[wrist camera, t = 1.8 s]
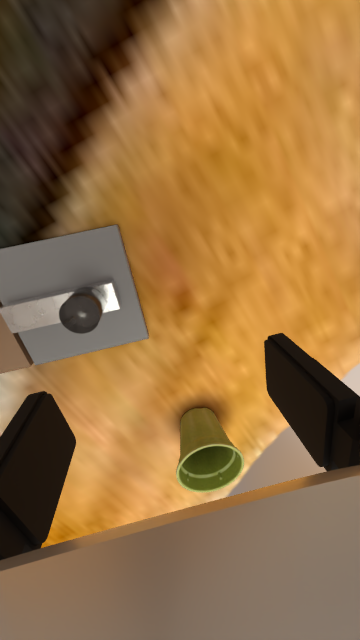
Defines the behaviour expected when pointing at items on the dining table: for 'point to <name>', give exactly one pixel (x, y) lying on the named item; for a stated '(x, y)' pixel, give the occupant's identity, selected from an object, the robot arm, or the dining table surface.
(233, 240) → the dining table surface
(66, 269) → the lock base
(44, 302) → the bolt
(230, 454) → the plant pot
